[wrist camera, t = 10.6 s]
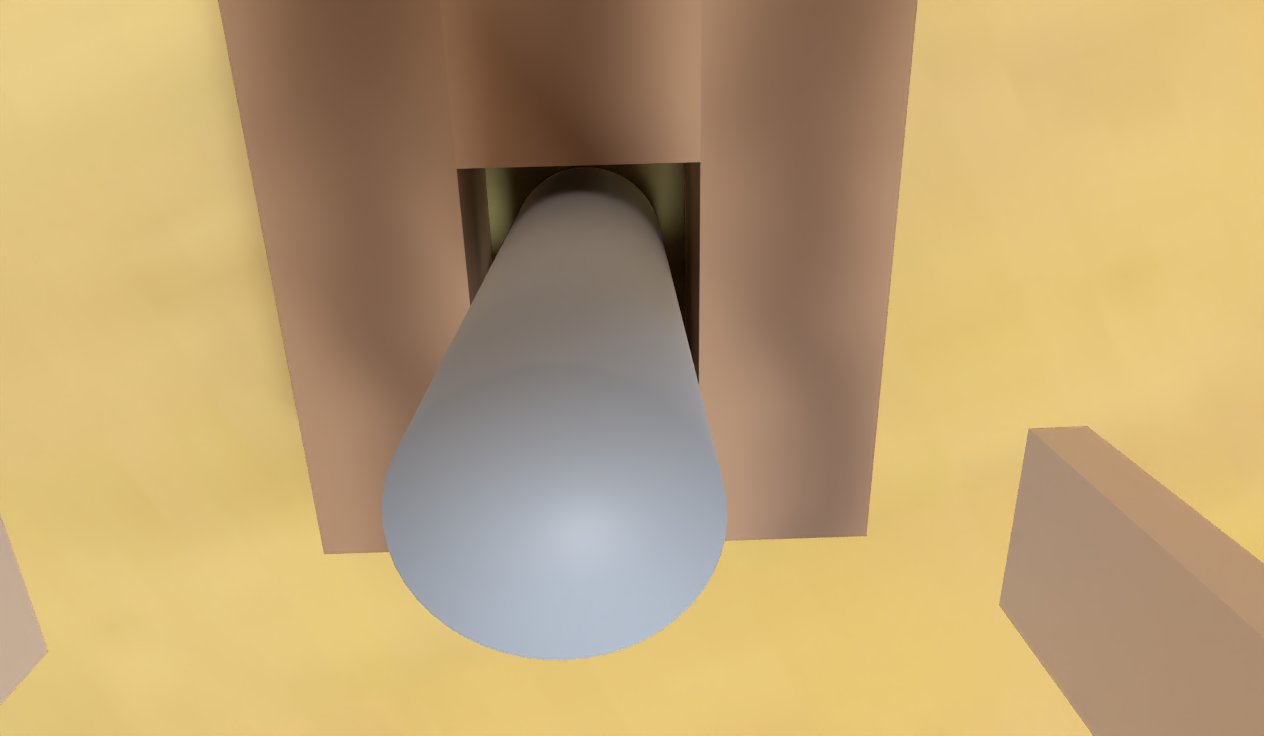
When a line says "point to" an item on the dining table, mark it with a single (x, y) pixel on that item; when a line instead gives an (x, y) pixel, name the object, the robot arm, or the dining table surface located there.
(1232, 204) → the dining table surface
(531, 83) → the socket block
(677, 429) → the peg
